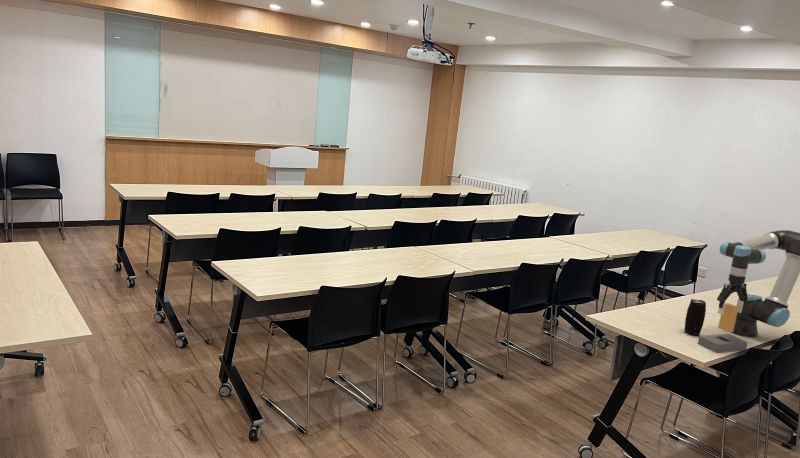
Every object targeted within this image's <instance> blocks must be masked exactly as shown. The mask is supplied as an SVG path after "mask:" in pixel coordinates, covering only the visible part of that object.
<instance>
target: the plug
mask: <svg viewBox="0 0 800 458" xmlns="http://www.w3.org/2000/svg"><path fill="white" fill-rule="evenodd" d="M737 312H738V307H737V305H734V304H732V303H729V302H727V303H726V302H725V308H724V313H723V315H722V314H720V317H719V321H718V322H719V323H718V327H717V329H719V330H721V331H723V332H726V333H732V332H733V330H734V325H735V321H736V316H737Z"/></svg>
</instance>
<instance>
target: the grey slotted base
mask: <svg viewBox="0 0 800 458" xmlns="http://www.w3.org/2000/svg"><path fill="white" fill-rule="evenodd" d="M697 345H700V346H702V347H704V348H706V349H707V350H710V351H711V352H714V353H717V354H718V353H729V352H739V351H747V347H748V341H746V340H744V339H741V338H739V337H736V336H734V335H732V334H730V333H721V334H720V333H718V334H707V335H706V334H705V335H699V336H698V342H697Z"/></svg>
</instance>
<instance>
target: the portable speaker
mask: <svg viewBox="0 0 800 458" xmlns="http://www.w3.org/2000/svg"><path fill="white" fill-rule="evenodd" d="M706 303H707V302H706V301H705V300H702V299H694V298H691V299H690V302H689V305H688V307H687V311H686V313H685V319H684V333H685V334H687V335H695V336H696V337H699V336H700V334H701V331H702V329H703V326H704V322H705V318H706V310H707V309H706V308H707V304H706Z"/></svg>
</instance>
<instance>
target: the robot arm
mask: <svg viewBox="0 0 800 458" xmlns="http://www.w3.org/2000/svg"><path fill="white" fill-rule="evenodd" d="M767 249H768V250H774V249H775V250H781V251H785V253H784V254H785V256H786V258H785V260H784V262H783V265H782V266H781V270H780V272H779V274H778V275H777V279H776V281H775V283H774V285H773V287H772V290H771V292H770V294H769V296H767V297H765V299H764V300H763V296H761V295H756V294H750V293H748V291H747V283H745V281H746V276H747V271H748V267H749V265H750V264H751V265H752V264H753V265H756V264H763V262H765V260H766V259H767V253H766V252H765V251H764V250H767ZM719 253H720V254H721V255H723V256H725V257H728V258H732V260H731V265H730V270H729V275H728V281H729V283H724V284H723V288H722V289H721V291H720V293H719V294H718V297H717V298H716V300H717V301H718V302H719V303H718V310H717V314H719V315H721V314H722V315H723V313H724V308H725V303H726V301H727V300H728V299H729V297H730V296H731V295H732V294H733V293H736V295H737V296H738V298H737V300H736V301H737V303H736V306H737V307H738V312H737V316H736V321H735V325H734V330H733V332H731V333H732V334H734V335H737V336H741V337H745V338H757V337H758V336H759V331H758V325H757V324H758V323H757V322H759V323H760V322H761V323H763V324H766V325H769V327H770V326H772V327H775V328H780V327H782V326H784V325H785V324H786V323H787V322H788V320H789V318H790V316H791V315H790V314H791V312H790V310H789V304H788V300H789V298H790V296H791V293H792V292H793V289H794V287H795V285H796V282H797V280H798V278H799V275H800V232H798V231H793V230H789V229H788V230H787V229H785V230H783V229H782V230H781V229H780V230H775V231H770V232H765V233H764V234H763V235H761V236H756V237H753V238H748V239H745V240H741V241H737V242H728V241H723V242H722V243H721V245H720V246H719Z"/></svg>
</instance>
